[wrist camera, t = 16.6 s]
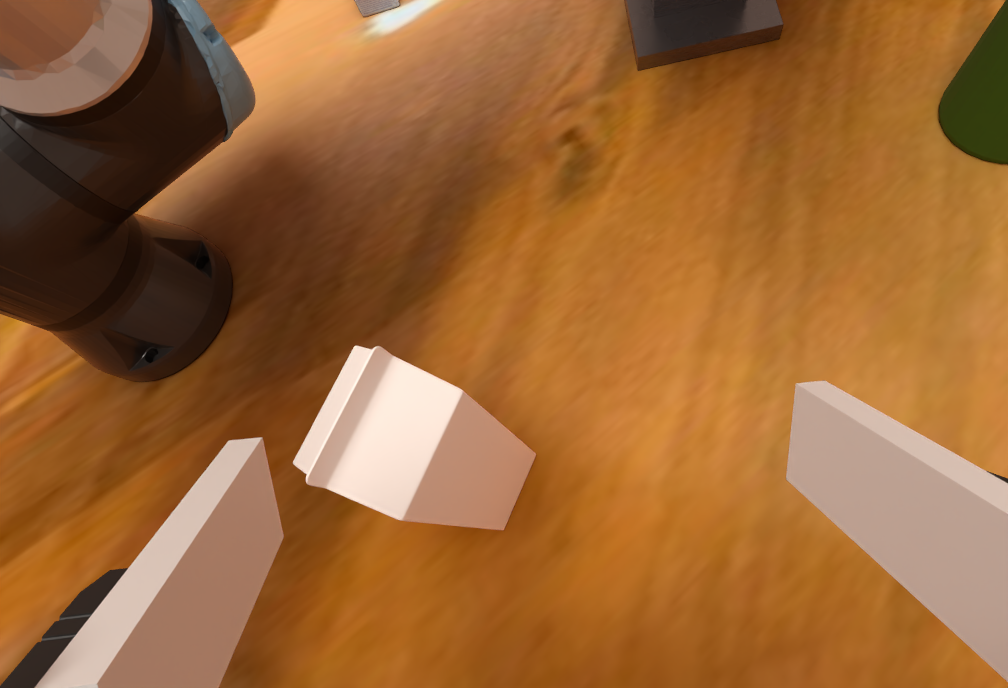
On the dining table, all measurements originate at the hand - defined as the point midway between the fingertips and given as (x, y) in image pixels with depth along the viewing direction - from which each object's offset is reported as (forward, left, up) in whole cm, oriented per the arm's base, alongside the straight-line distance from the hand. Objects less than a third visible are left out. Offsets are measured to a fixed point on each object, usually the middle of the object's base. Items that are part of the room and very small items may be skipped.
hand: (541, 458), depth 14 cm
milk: (-9, -1, -28) cm, 29 cm away
